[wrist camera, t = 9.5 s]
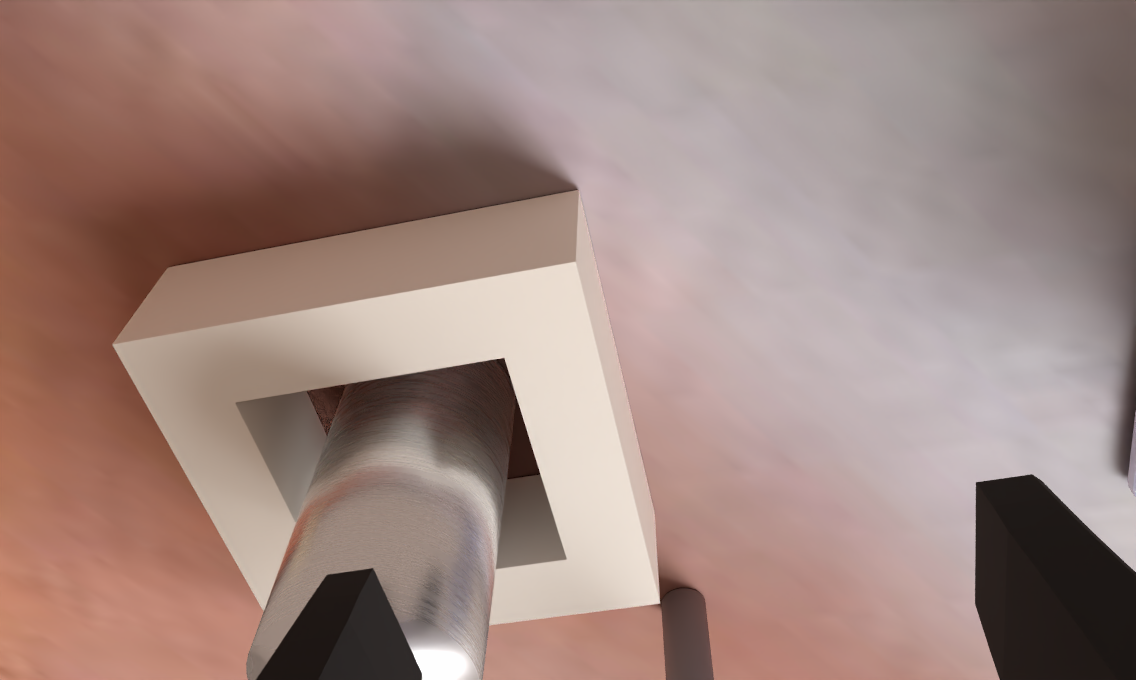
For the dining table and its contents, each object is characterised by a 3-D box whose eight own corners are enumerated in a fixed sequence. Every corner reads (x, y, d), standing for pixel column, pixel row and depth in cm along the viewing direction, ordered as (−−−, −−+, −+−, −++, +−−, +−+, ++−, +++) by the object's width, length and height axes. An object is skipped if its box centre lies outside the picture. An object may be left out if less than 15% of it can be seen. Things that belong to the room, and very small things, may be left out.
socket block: (579, 189, 21) (575, 261, 18) (654, 512, 26) (660, 603, 23) (167, 267, 22) (111, 344, 19) (315, 559, 27) (286, 651, 24)
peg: (536, 446, 24) (510, 737, 18) (384, 477, 25) (305, 768, 19) (484, 313, 22) (432, 586, 16) (319, 351, 23) (204, 627, 16)
